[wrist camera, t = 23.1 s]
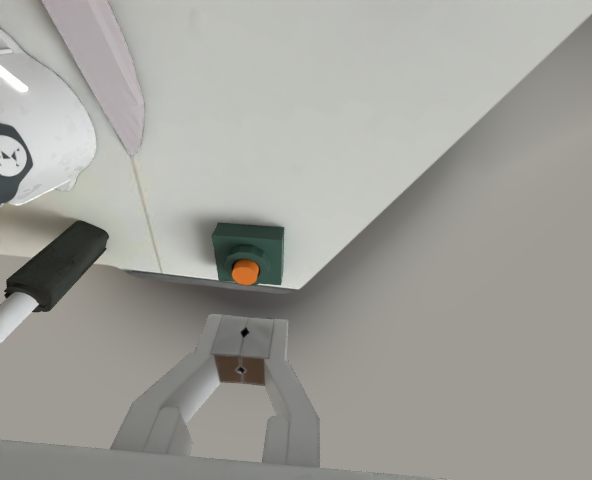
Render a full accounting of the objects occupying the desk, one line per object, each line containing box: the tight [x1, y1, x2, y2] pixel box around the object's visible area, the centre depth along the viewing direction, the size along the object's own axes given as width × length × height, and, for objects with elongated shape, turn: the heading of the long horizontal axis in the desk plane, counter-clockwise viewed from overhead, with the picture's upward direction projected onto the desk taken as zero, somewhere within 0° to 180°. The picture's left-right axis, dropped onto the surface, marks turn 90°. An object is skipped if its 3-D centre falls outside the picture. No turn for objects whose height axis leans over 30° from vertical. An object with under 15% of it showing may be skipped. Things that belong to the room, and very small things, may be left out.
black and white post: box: [0, 221, 109, 343], centre depth 37 cm, size 5×5×25 cm
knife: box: [42, 0, 144, 157], centre depth 28 cm, size 8×2×30 cm
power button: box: [232, 259, 259, 285], centre depth 42 cm, size 4×4×2 cm
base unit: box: [212, 223, 284, 286], centre depth 45 cm, size 10×9×5 cm
